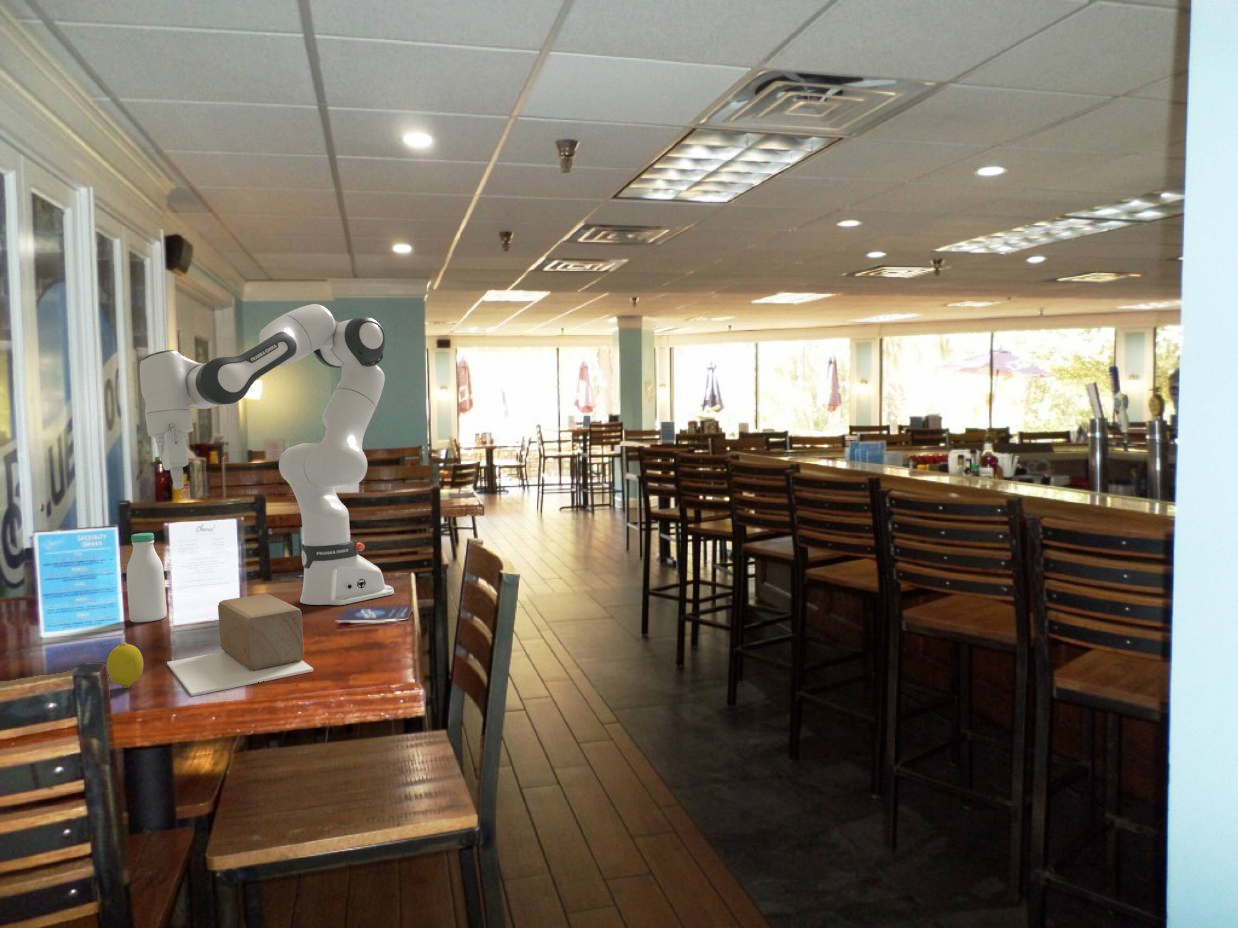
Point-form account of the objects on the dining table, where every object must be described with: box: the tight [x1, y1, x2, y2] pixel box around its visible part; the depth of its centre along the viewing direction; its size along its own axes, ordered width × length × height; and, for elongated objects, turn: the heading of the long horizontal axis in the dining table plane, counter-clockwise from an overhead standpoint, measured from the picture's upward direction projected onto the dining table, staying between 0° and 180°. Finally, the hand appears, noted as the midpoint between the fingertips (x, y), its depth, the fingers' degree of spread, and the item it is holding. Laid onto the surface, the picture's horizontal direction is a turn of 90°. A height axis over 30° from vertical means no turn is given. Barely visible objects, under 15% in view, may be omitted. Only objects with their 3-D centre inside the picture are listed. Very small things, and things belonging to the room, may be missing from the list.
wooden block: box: [217, 593, 305, 670], centre depth 166 cm, size 10×10×20 cm
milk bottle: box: [126, 532, 168, 623], centre depth 202 cm, size 8×8×20 cm
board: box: [166, 651, 314, 697], centre depth 160 cm, size 20×24×1 cm
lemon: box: [106, 642, 144, 689], centre depth 150 cm, size 6×6×8 cm
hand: (179, 488), depth 189 cm, fingers closed
